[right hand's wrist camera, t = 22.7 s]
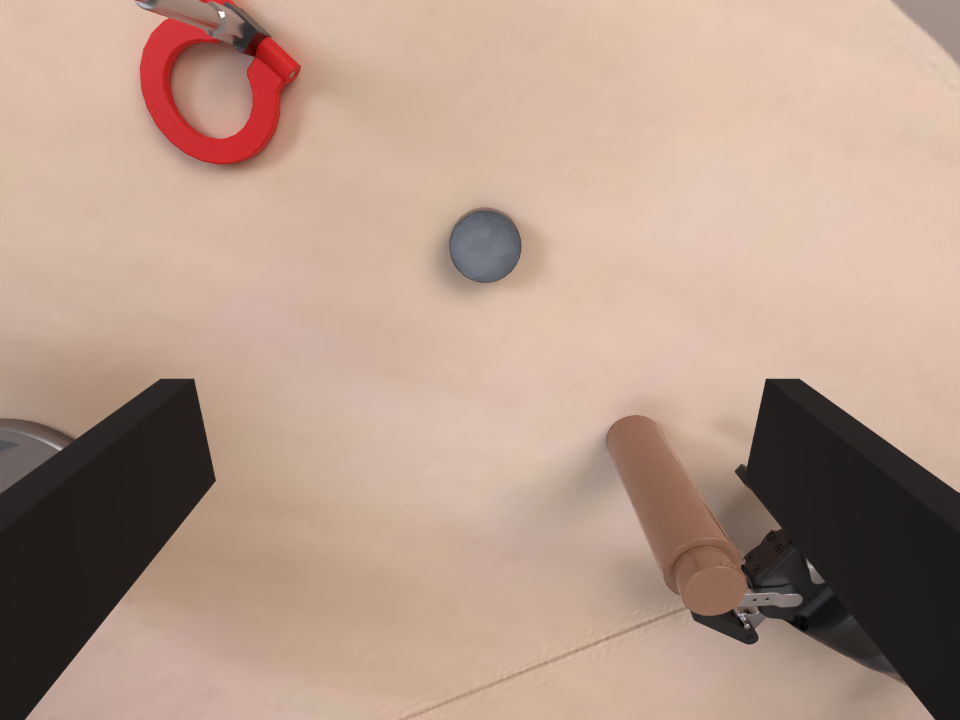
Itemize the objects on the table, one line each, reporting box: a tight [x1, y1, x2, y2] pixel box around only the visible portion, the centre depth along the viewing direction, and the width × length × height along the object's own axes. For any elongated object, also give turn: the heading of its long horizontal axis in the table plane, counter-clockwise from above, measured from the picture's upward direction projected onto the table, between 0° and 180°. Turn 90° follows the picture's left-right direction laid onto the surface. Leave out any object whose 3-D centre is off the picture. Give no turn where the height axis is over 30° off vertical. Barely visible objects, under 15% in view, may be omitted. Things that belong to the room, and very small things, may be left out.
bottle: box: [607, 416, 747, 616], centre depth 36 cm, size 4×4×16 cm
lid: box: [450, 208, 521, 282], centre depth 36 cm, size 5×5×2 cm
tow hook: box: [135, 0, 300, 164], centre depth 28 cm, size 8×13×9 cm
